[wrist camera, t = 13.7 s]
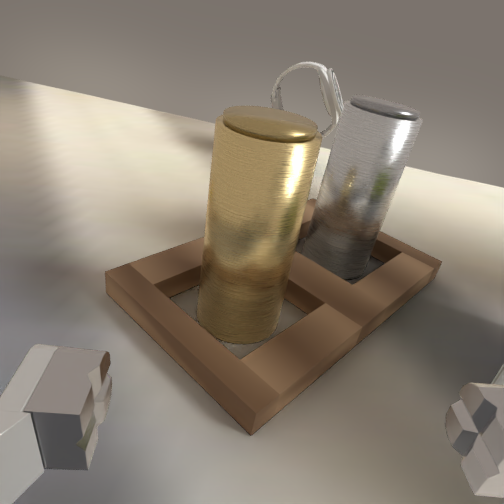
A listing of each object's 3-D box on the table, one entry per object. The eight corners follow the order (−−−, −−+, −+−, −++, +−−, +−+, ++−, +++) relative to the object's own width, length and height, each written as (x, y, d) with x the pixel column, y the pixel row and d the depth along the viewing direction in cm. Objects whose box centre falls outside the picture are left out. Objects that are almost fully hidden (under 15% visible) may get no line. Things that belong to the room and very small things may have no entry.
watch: (326, 180, 45) (354, 74, 39) (256, 164, 46) (273, 58, 40) (330, 165, 50) (355, 68, 44) (266, 150, 51) (283, 54, 45)
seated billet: (319, 237, 33) (363, 92, 28) (373, 263, 31) (433, 112, 26) (290, 257, 30) (334, 94, 24) (349, 287, 28) (413, 117, 22)
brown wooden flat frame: (309, 213, 37) (315, 190, 36) (434, 278, 31) (446, 252, 29) (106, 292, 24) (104, 259, 23) (251, 435, 17) (259, 401, 16)
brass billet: (238, 280, 27) (267, 101, 21) (294, 320, 24) (345, 129, 18) (179, 308, 24) (193, 107, 18) (236, 357, 21) (275, 141, 15)
